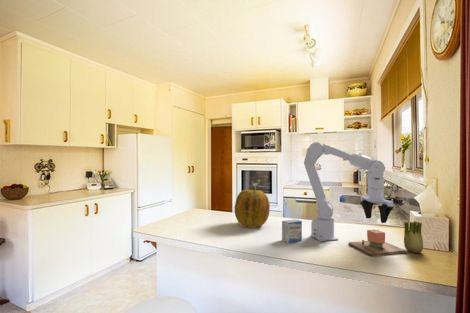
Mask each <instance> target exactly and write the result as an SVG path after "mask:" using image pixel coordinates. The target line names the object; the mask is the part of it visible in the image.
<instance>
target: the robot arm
mask: <svg viewBox="0 0 470 313" xmlns="http://www.w3.org/2000/svg"><path fill="white" fill-rule="evenodd" d="M323 155H324V156H325V155H327V156H328V155H332V156H335V157H338V158H340V159H344V160H346V161H348V163H349V164H350V165H351V166H354V167H355V168H359V169H361V170H364V171H368V177H367V196H366V195H360V202H359V204H360V206H361V208H362V209H363V212H364V214H365V219H371V218H372V212H373V207H374V206H373V205H374V204H377V207H378V211H379V215H380V223H381V224H386V223H387V221H388V220H389V216H390V214H391V212H392V210H393V209H394V201H393V200H388V199H386V198H385V183H384V182H385V180H384V179H385V178H384V172H385V170H386V166H385V164H384V162H382V161H381V160H377V159H376V160H375V157H372V156H371V157H369V156H367V155H363V153H362V152H358V153H357V152H354V153H349V152H347V151H345V150H343V149H340V148H337V147H335V146H332V145H330V144H325V143H320V142H317V141H316V142H315V141H314V142H313V143H310V144H309V146H308V148H307V149H306V152H305V158H304V162H303V165H304V168H305V170H306V174H307V176H308V179H309V182H310V185H311V188H312V191H313V194H314V197H315V200H316V201H315V202H316V206H317V217H316V218H313V219H312V220H311V222H310V223H311V227H310V228H311V232H310V233H311V234H310V236H311V237H312V238H314V239H315V240H318V241H319V242H323V241H325V242H326V241H327V242H328V241H334V240H335V241H337V240H339V237H336V236H335V217H334V216H333V214H334V206H333V205H332V204H331V203H330V202H329V199H328V197H327V195H326V193H325V189H324V186H323V183H322V181H321V177H320V175H319V171H318V170H317V166H316V163H317V162H318V160H319V158H321V156H323Z"/></svg>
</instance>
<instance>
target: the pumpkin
mask: <svg viewBox="0 0 470 313" xmlns="http://www.w3.org/2000/svg"><path fill="white" fill-rule="evenodd" d="M261 181H262V180H261V179H260V178H259V179H256V182H254V183H252V185H251V186H250V189H249V188H245V189H243V190H242V191H240V192H239V193H238V194H237V196H236V200H235V205H234V214H235V218H236V220H237V222H238V224H240V225H241V226H242V227H244V228H259V227H262V226H264V224H265V223H267V220H268V219H269V216H270V209H271V208H270V200H269V197H268V195H267V194H266V193H265V192H263V191H262V190H260V189H258V190H257V188H256V187H257V186H259V185H260V183H261Z"/></svg>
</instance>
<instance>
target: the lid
mask: <svg viewBox="0 0 470 313" xmlns="http://www.w3.org/2000/svg"><path fill="white" fill-rule="evenodd" d="M366 231H367V232H366V237H367V238H366V239H367V240H366V241H369V242H372V243H376V244H384V243H385V242H386V232H384V231H382V230H379V229H377V228H373V229H367V230H366Z"/></svg>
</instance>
